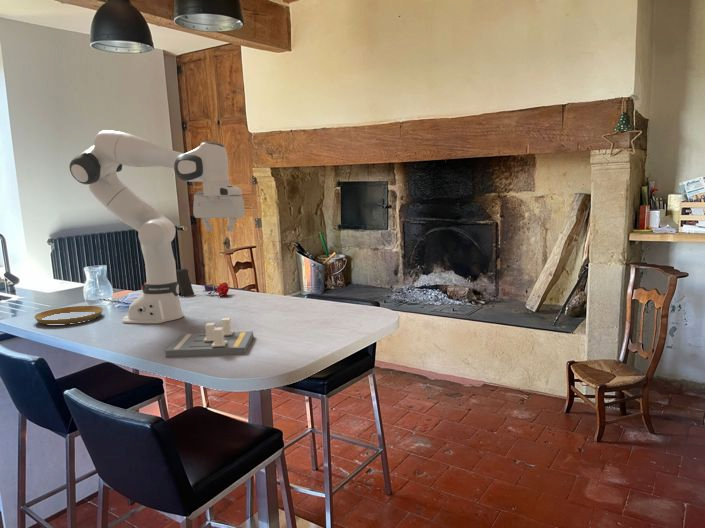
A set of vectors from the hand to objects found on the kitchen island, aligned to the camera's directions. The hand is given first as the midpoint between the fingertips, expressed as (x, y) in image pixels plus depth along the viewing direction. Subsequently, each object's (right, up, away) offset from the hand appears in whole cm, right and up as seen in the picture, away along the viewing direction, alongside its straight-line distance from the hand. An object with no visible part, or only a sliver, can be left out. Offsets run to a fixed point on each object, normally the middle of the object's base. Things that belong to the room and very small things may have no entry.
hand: (219, 231), depth 186 cm
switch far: (+4, -34, -7) cm, 35 cm away
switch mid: (0, -35, -13) cm, 38 cm away
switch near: (+4, -36, -18) cm, 41 cm away
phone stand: (-35, -26, +71) cm, 84 cm away
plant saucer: (-66, -34, +29) cm, 80 cm away
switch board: (0, -38, -12) cm, 40 cm away
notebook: (-58, -28, +66) cm, 92 cm away
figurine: (-18, -26, +67) cm, 74 cm away
